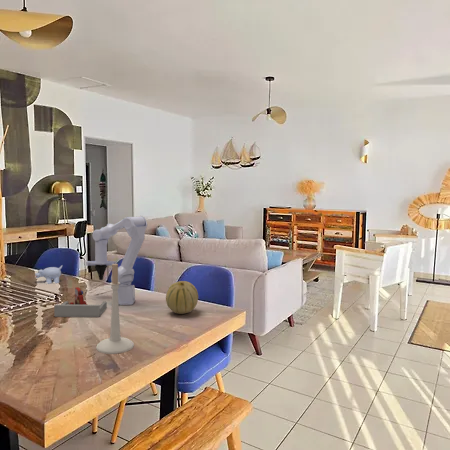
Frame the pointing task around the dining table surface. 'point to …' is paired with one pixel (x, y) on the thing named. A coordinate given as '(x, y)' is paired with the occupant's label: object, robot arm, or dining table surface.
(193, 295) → the cantaloupe
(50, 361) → the dining table surface
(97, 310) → the tray
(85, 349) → the dining table surface
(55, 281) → the hippopotamus toy
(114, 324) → the candlestick
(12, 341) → the dining table surface
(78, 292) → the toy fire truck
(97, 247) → the robot arm
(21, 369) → the dining table surface
